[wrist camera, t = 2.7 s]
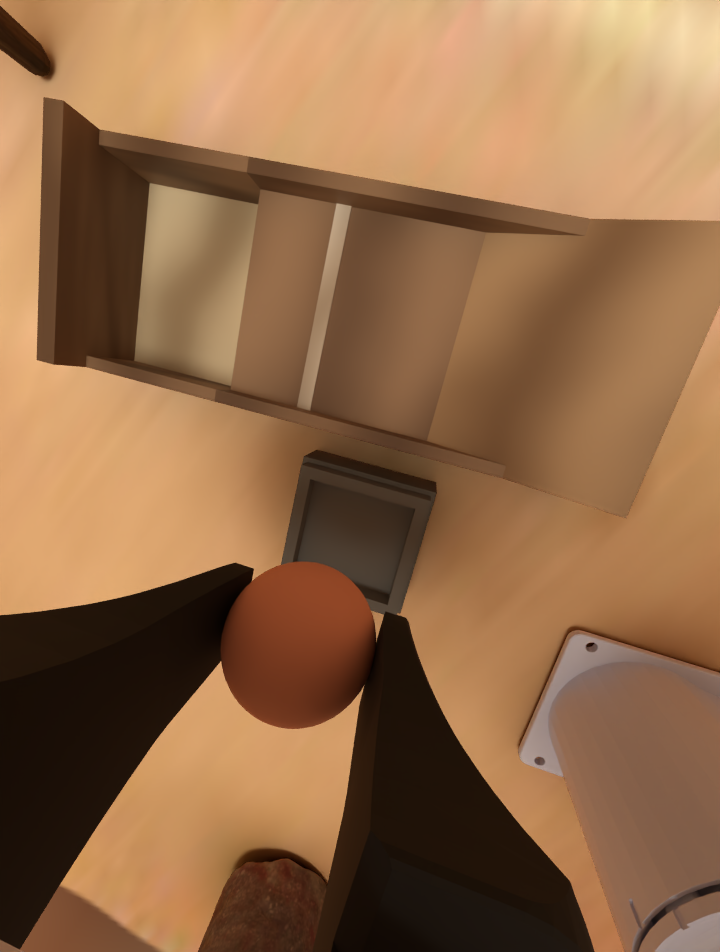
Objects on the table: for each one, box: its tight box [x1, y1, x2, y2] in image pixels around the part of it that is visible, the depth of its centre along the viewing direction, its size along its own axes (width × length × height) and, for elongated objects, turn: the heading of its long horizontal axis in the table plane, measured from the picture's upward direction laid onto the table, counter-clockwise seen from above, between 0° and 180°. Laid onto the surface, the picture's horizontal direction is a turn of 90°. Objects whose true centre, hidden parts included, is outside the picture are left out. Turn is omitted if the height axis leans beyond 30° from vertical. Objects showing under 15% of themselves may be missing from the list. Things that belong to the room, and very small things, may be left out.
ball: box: [221, 562, 376, 729], centre depth 10 cm, size 4×4×4 cm
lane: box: [37, 97, 720, 518], centre depth 15 cm, size 23×9×4 cm, turn 76°
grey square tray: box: [281, 450, 437, 615], centre depth 18 cm, size 6×6×3 cm
